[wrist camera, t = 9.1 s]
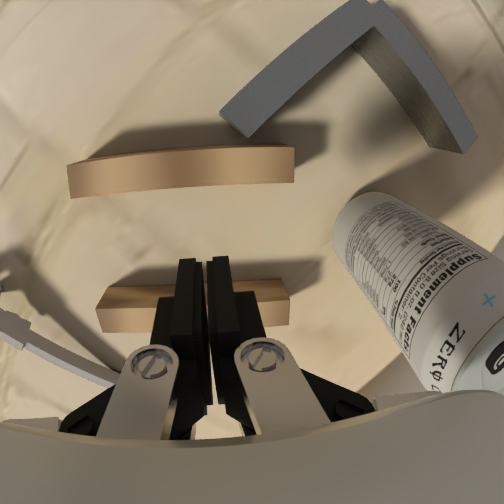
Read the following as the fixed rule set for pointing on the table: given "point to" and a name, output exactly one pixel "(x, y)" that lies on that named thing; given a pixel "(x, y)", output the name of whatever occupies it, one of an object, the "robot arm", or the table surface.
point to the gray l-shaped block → (381, 61)
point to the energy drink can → (427, 291)
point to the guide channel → (176, 176)
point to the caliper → (51, 350)
